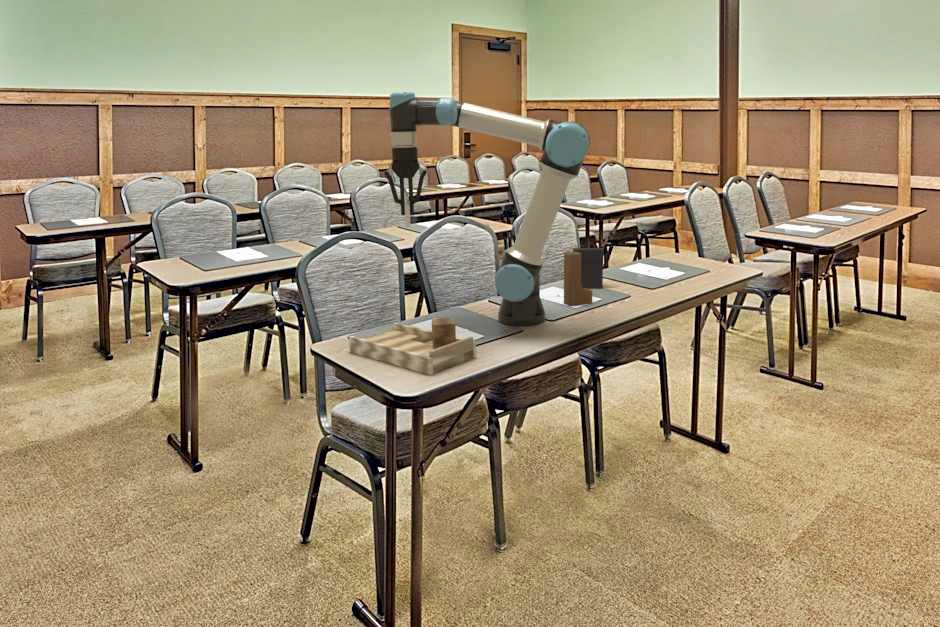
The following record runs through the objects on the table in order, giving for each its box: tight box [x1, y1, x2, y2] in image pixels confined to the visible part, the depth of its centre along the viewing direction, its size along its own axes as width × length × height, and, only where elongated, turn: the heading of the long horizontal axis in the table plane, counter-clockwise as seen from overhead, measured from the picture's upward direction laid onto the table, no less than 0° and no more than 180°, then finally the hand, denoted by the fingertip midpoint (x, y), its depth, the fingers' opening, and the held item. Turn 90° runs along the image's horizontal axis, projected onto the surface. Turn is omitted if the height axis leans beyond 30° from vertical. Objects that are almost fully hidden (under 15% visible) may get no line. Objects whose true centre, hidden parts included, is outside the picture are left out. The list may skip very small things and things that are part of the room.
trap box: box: [348, 322, 478, 376], centre depth 214 cm, size 32×18×6 cm, turn 49°
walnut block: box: [431, 317, 457, 350], centre depth 209 cm, size 6×6×8 cm
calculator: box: [572, 247, 604, 290], centre depth 285 cm, size 11×4×15 cm, turn 86°
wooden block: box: [563, 251, 593, 307], centre depth 263 cm, size 9×4×18 cm, turn 109°
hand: (408, 226), depth 231 cm, fingers closed
